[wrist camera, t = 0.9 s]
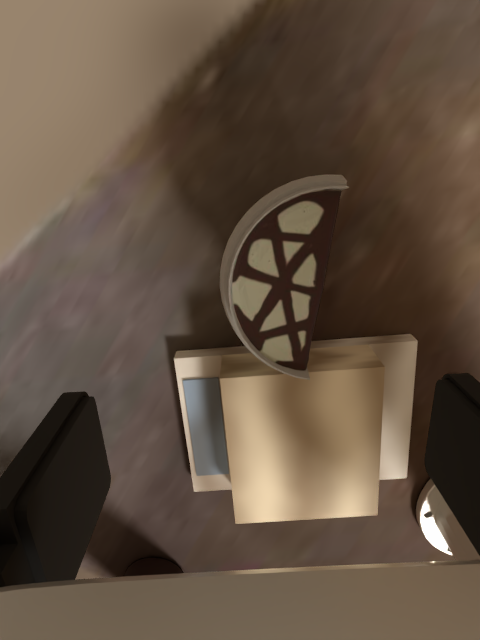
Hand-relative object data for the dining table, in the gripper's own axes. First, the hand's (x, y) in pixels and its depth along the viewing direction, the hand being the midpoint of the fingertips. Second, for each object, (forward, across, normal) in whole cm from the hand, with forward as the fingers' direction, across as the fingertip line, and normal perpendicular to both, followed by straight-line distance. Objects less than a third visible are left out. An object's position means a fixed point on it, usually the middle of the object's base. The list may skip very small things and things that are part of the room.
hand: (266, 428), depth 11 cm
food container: (+22, -2, 0) cm, 23 cm away
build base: (+22, -4, +15) cm, 27 cm away
